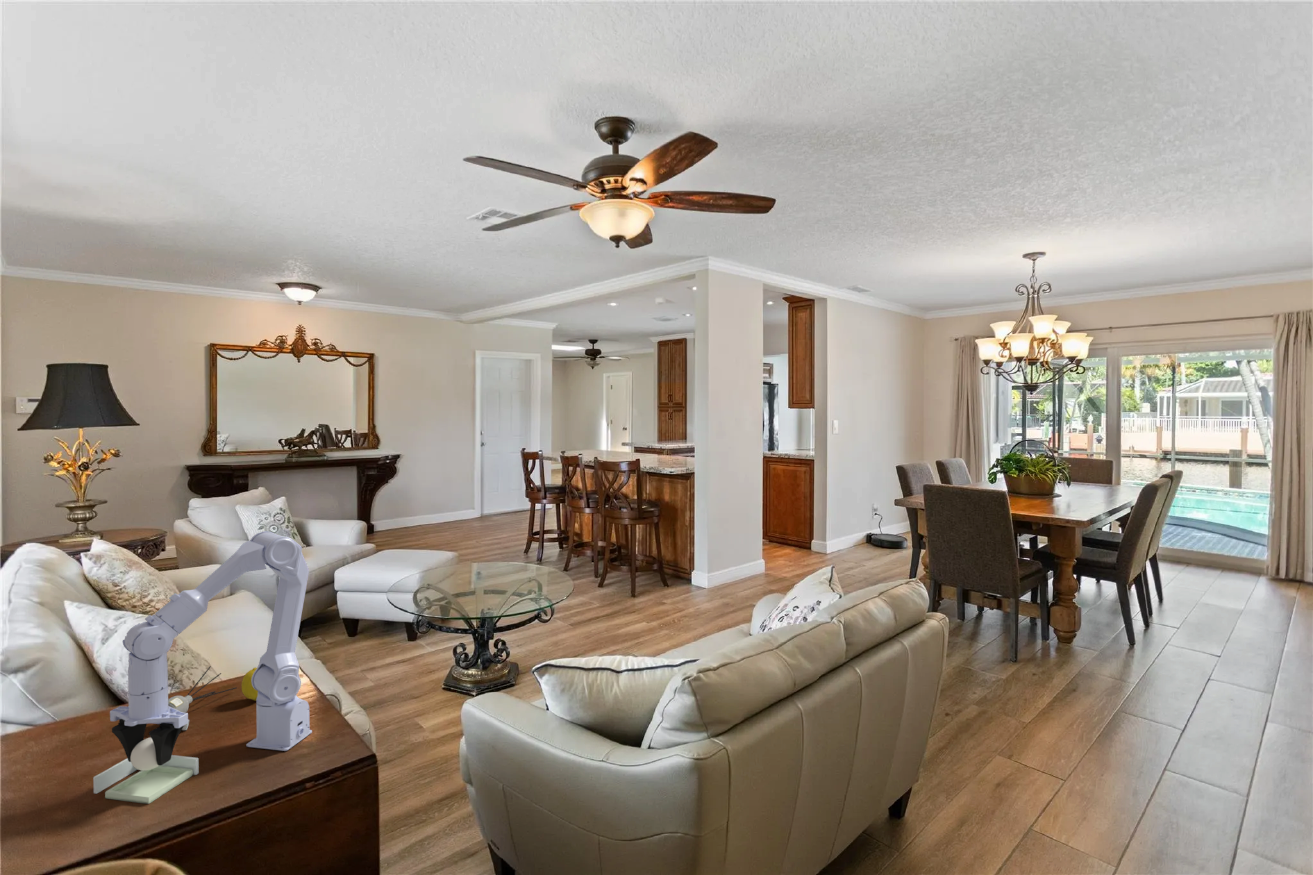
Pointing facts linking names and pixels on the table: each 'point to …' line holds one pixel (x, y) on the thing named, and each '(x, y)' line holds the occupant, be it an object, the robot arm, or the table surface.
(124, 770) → the acrylic walls
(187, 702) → the reed diffuser
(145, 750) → the ball
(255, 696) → the lemon
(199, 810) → the table surface
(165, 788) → the resting spot
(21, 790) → the table surface
